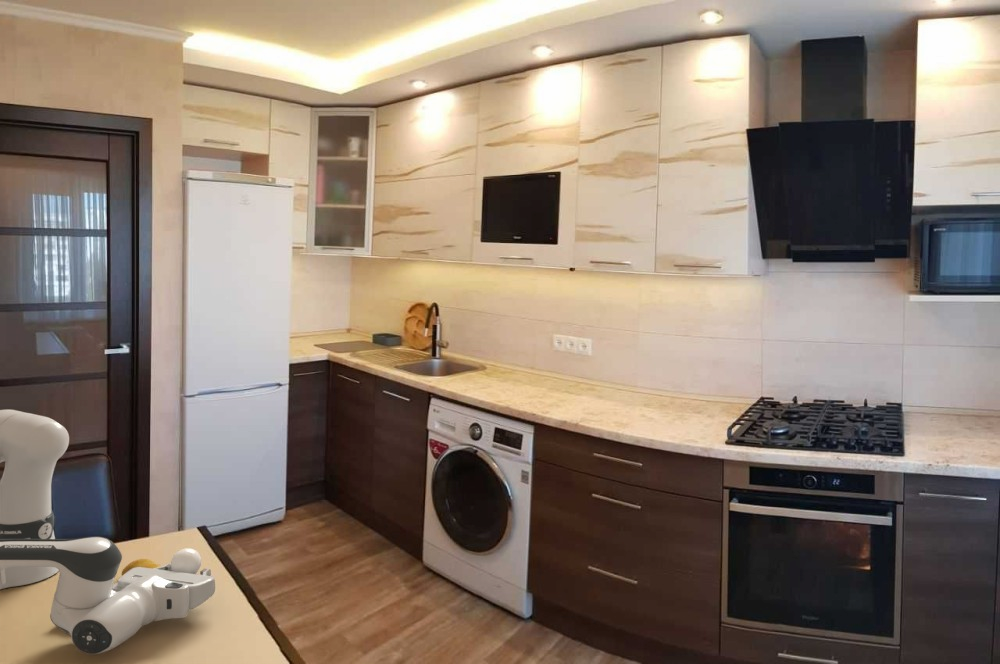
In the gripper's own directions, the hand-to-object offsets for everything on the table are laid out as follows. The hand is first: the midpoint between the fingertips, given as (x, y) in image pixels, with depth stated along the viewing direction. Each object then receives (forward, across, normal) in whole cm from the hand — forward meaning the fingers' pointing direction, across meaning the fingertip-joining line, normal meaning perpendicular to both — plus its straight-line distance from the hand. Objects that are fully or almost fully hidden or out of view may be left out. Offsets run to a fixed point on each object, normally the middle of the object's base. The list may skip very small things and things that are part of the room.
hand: (189, 569), depth 157 cm
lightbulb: (-1, 0, -6) cm, 6 cm away
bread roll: (+5, -16, -6) cm, 18 cm away
